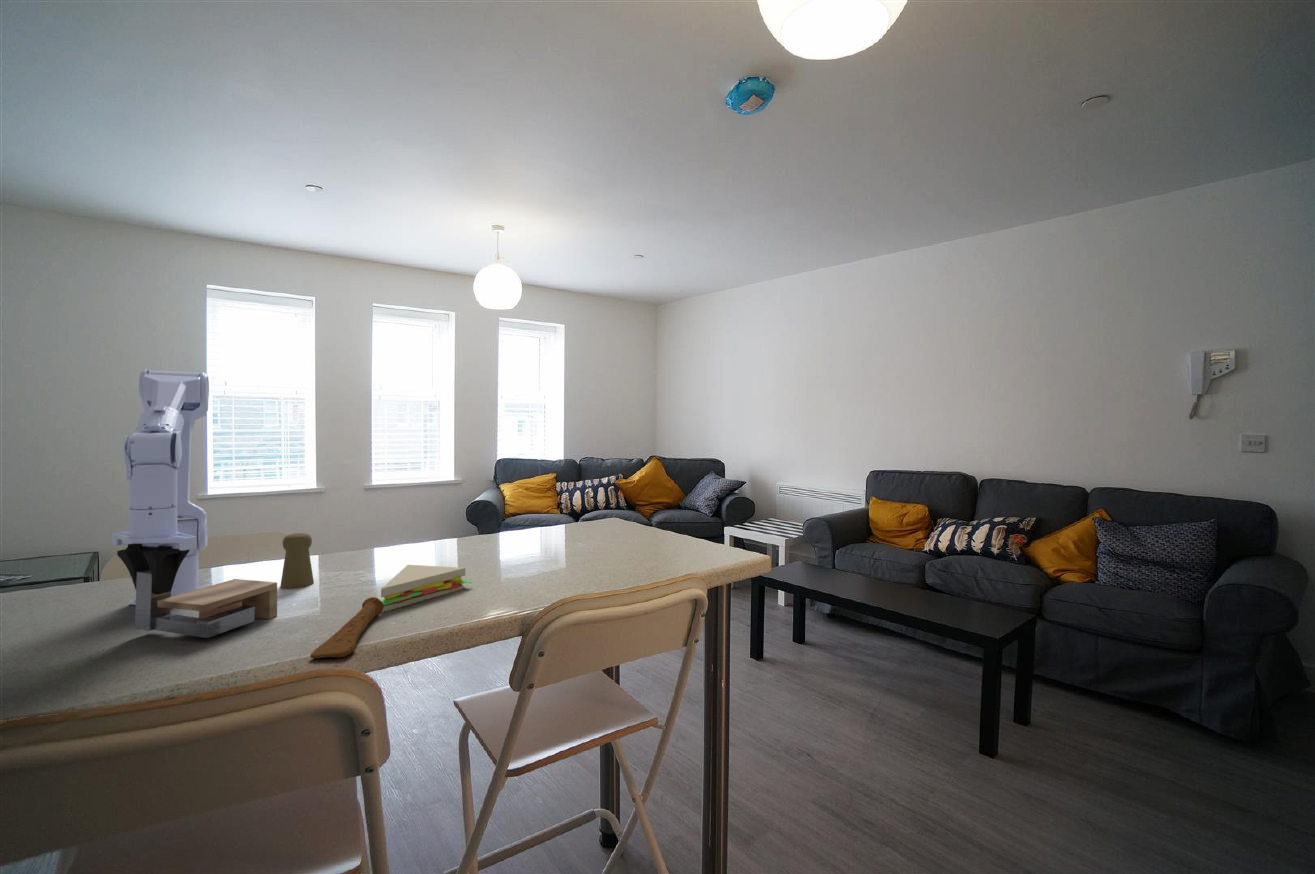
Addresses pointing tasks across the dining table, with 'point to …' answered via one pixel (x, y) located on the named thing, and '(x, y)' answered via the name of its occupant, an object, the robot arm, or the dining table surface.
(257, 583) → the cubby
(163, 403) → the robot arm
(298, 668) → the dining table surface
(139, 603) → the grey angled block
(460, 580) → the sandwich
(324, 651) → the primitive tool
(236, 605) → the cube
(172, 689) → the dining table surface
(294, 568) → the cork
